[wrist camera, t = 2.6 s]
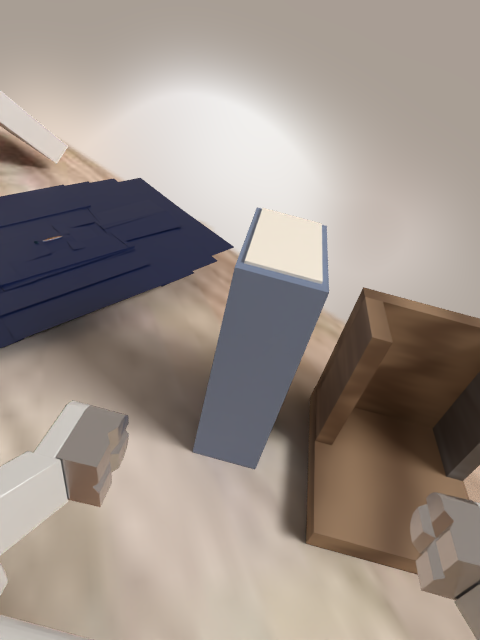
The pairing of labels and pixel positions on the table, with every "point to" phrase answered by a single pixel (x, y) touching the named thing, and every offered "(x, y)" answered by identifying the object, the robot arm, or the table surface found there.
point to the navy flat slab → (91, 251)
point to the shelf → (391, 426)
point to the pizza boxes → (29, 129)
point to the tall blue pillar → (263, 334)
